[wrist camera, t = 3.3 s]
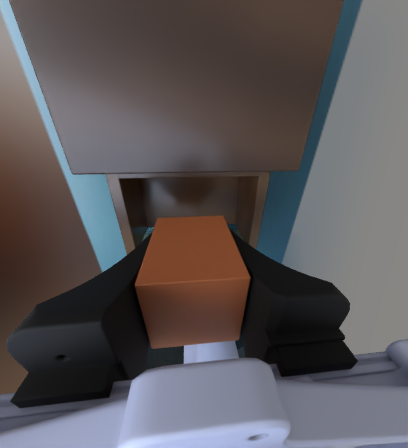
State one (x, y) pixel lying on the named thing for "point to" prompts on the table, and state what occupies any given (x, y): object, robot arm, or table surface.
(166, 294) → the block
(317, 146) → the table surface
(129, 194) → the drawer
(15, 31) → the table surface
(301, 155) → the cabinet
